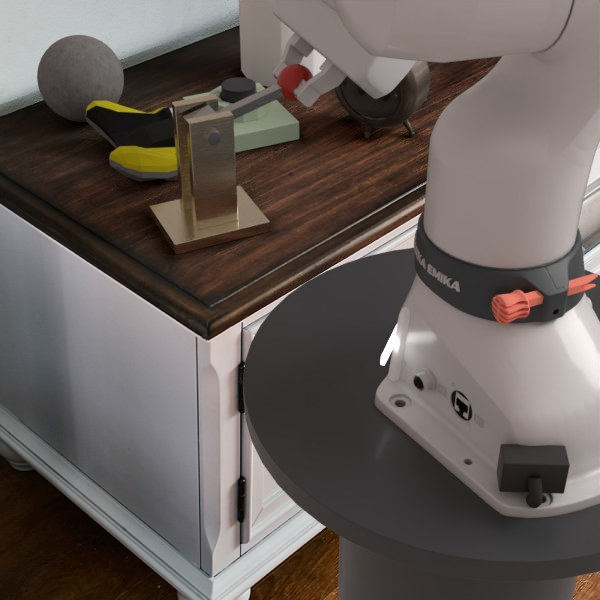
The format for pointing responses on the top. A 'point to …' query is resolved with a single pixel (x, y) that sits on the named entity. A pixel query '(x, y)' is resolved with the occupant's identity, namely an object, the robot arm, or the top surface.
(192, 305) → the top surface
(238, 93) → the button
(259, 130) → the button box
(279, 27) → the cup
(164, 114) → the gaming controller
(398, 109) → the alarm clock
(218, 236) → the switch bracket
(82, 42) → the decorative ball
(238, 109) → the switch lever
